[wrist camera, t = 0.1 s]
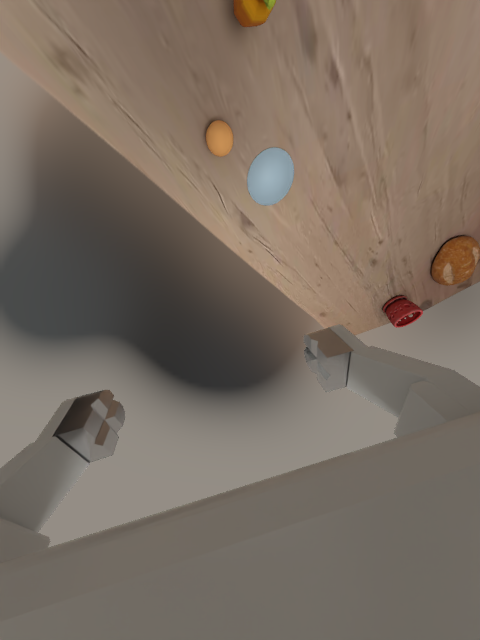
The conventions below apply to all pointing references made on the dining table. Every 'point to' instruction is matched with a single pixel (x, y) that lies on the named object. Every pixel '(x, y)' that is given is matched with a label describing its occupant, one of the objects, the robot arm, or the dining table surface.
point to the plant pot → (401, 311)
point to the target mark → (270, 176)
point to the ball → (219, 138)
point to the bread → (456, 261)
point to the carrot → (252, 11)
